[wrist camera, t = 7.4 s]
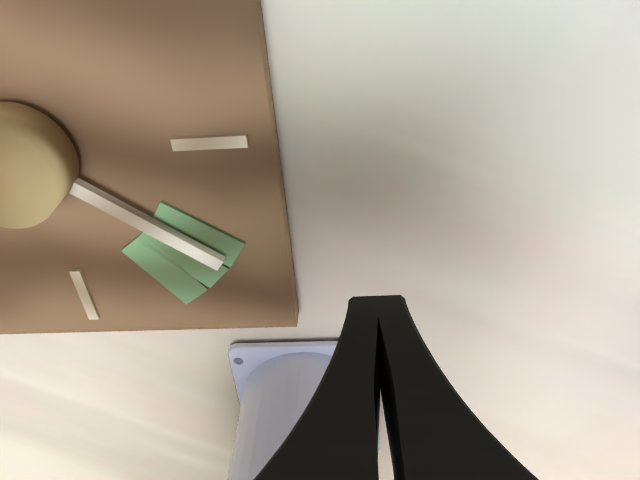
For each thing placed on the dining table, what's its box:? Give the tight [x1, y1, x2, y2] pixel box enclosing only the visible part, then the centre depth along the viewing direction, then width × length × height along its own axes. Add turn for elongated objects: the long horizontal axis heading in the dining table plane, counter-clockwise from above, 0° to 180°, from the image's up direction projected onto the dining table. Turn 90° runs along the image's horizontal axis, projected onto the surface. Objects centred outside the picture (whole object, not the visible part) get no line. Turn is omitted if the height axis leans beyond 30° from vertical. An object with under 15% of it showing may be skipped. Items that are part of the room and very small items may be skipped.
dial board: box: [0, 0, 299, 334], centre depth 22 cm, size 20×20×1 cm
